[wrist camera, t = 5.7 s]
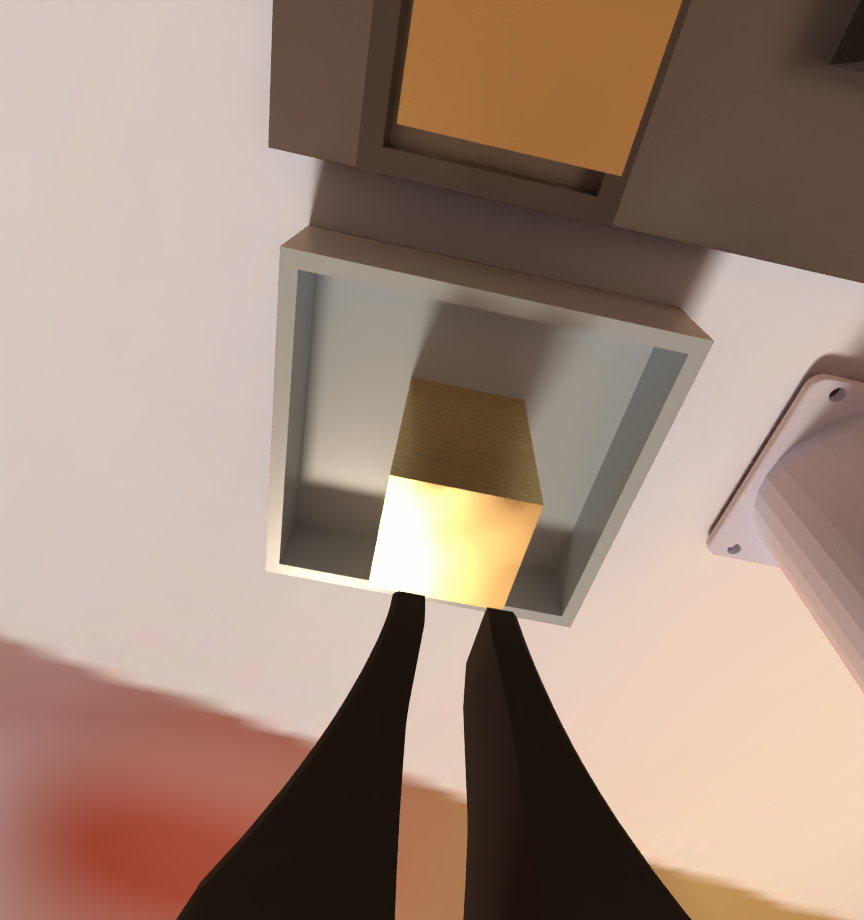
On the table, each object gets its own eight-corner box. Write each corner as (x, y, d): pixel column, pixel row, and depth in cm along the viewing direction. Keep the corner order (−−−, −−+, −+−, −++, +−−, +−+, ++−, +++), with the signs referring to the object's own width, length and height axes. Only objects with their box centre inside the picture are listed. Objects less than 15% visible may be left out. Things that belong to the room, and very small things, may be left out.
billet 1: (627, -46, 13) (732, -146, 8) (569, 152, 15) (621, 176, 10) (455, -90, 12) (444, -225, 7) (422, 117, 14) (396, 123, 9)
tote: (679, 307, 18) (714, 340, 15) (559, 572, 24) (570, 627, 22) (308, 225, 17) (280, 246, 14) (287, 520, 23) (265, 570, 21)
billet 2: (524, 400, 19) (543, 505, 14) (494, 491, 21) (502, 610, 16) (411, 376, 19) (389, 475, 14) (392, 471, 21) (368, 586, 16)
